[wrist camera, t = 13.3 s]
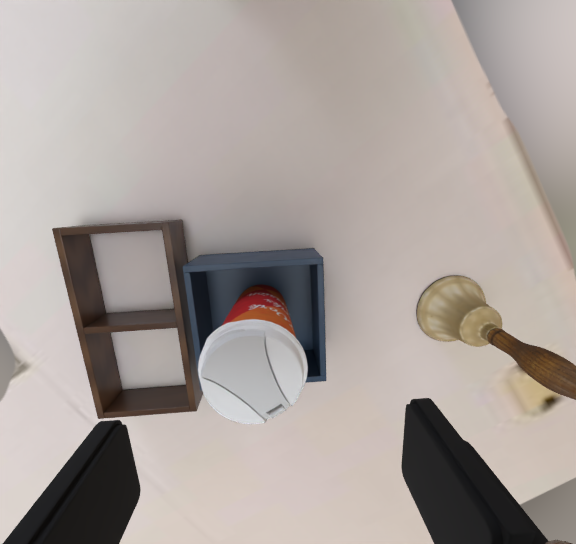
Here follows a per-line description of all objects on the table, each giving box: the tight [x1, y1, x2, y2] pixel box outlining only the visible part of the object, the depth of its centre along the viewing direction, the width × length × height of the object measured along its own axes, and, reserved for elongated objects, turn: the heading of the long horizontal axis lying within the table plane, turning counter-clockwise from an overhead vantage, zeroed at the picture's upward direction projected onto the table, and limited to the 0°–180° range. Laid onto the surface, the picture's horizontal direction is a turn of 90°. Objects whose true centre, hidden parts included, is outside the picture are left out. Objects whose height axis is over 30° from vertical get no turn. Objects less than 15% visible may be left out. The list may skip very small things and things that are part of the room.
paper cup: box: [198, 285, 308, 424], centre depth 25 cm, size 8×8×14 cm
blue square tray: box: [183, 248, 326, 391], centre depth 30 cm, size 13×13×6 cm
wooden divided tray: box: [52, 220, 203, 419], centre depth 30 cm, size 20×11×4 cm, turn 3°
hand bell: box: [417, 276, 576, 400], centre depth 26 cm, size 8×8×16 cm
